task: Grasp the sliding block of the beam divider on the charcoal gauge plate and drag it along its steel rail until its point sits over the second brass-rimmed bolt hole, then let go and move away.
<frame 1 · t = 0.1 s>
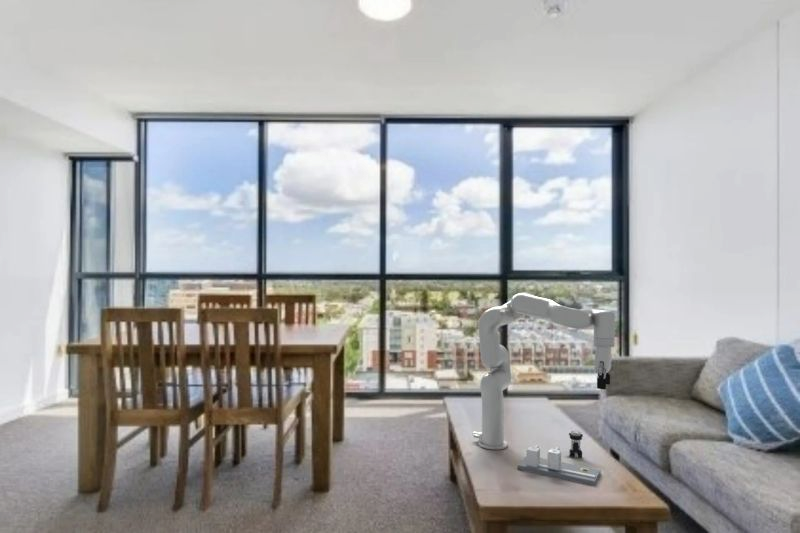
hand: (603, 386, 200), 31 cm above the table, tool pointing down, fingers open, 9 cm apart
push button: (573, 456, 211), on the table
sliding block: (555, 458, 195), point 5 cm above the table, slide at 8.0 cm
gauge plate: (558, 471, 195), on the table
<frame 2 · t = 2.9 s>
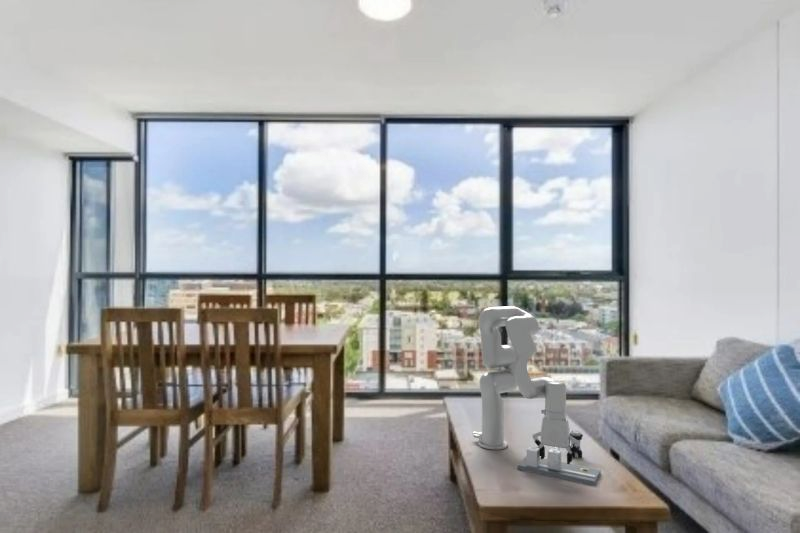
hand: (555, 460, 193), 5 cm above the table, tool pointing down, fingers open, 9 cm apart
nothing on the table moved.
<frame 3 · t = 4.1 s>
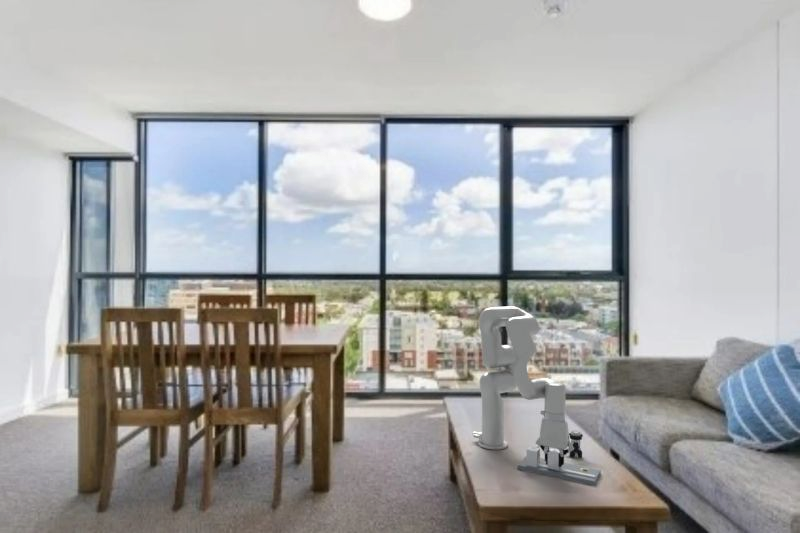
hand: (554, 464, 194), 3 cm above the table, tool pointing down, fingers closed on sliding block, 4 cm apart
sliding block: (555, 458, 195), point 5 cm above the table, slide at 8.0 cm, touching gripper
everything else where it was.
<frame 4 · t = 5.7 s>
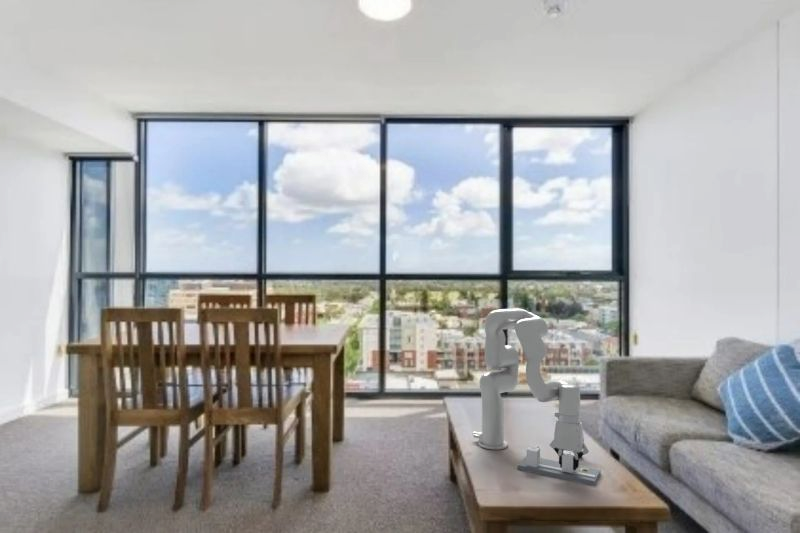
hand: (568, 467, 191), 3 cm above the table, tool pointing down, fingers closed on sliding block, 4 cm apart
sliding block: (569, 461, 192), point 5 cm above the table, slide at 13.2 cm, touching gripper
everything else where it was.
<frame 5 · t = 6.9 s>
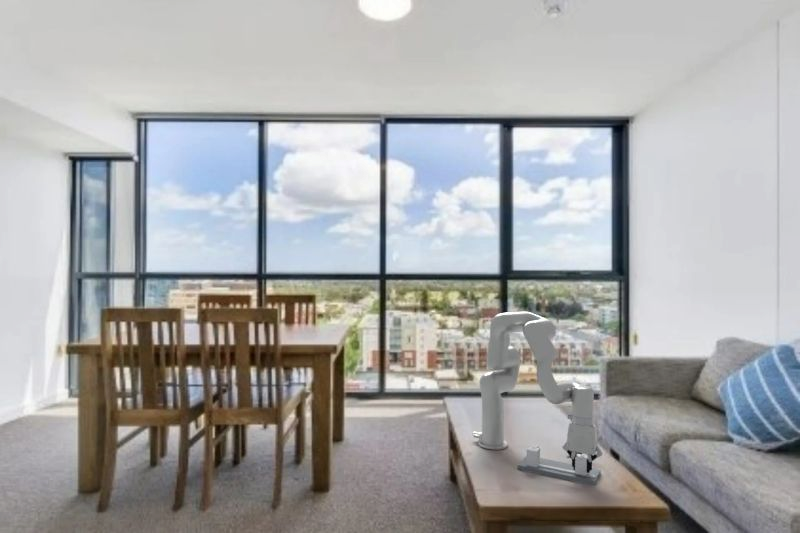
hand: (581, 469, 189), 3 cm above the table, tool pointing down, fingers closed on sliding block, 4 cm apart
sliding block: (582, 463, 190), point 5 cm above the table, slide at 17.9 cm, touching gripper
everything else where it was.
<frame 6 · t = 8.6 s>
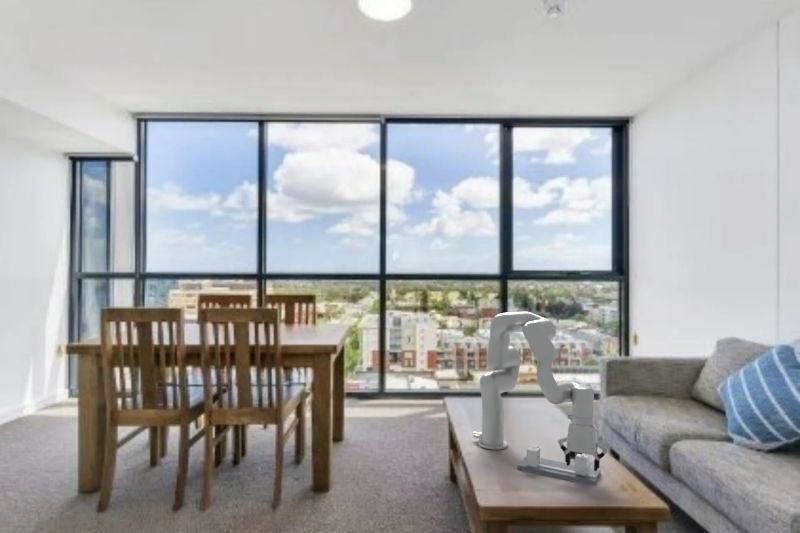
hand: (582, 467, 189), 4 cm above the table, tool pointing down, fingers open, 9 cm apart
sliding block: (583, 463, 190), point 5 cm above the table, slide at 18.0 cm
everything else where it was.
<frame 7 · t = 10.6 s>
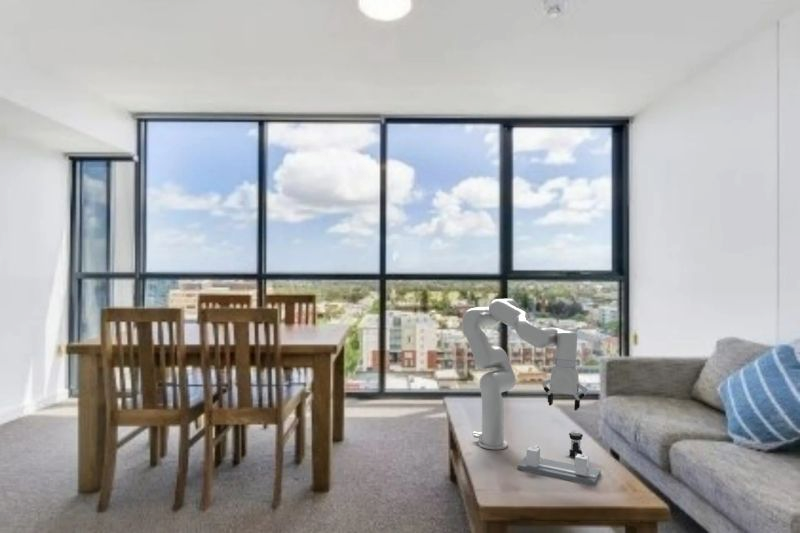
hand: (563, 407, 199), 23 cm above the table, tool pointing down, fingers open, 9 cm apart
nothing on the table moved.
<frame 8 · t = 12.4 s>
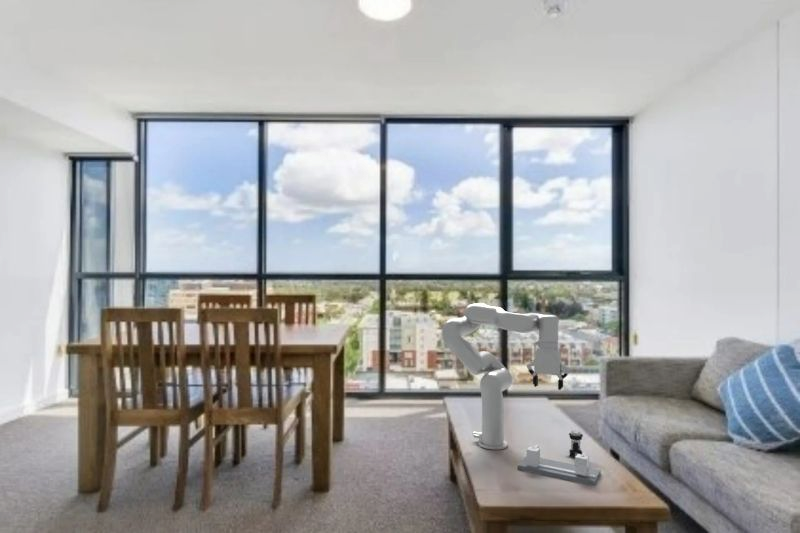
hand: (547, 387, 209), 28 cm above the table, tool pointing down, fingers open, 9 cm apart
nothing on the table moved.
at the end: sliding block slide at 18.0 cm; the gripper is holding nothing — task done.
